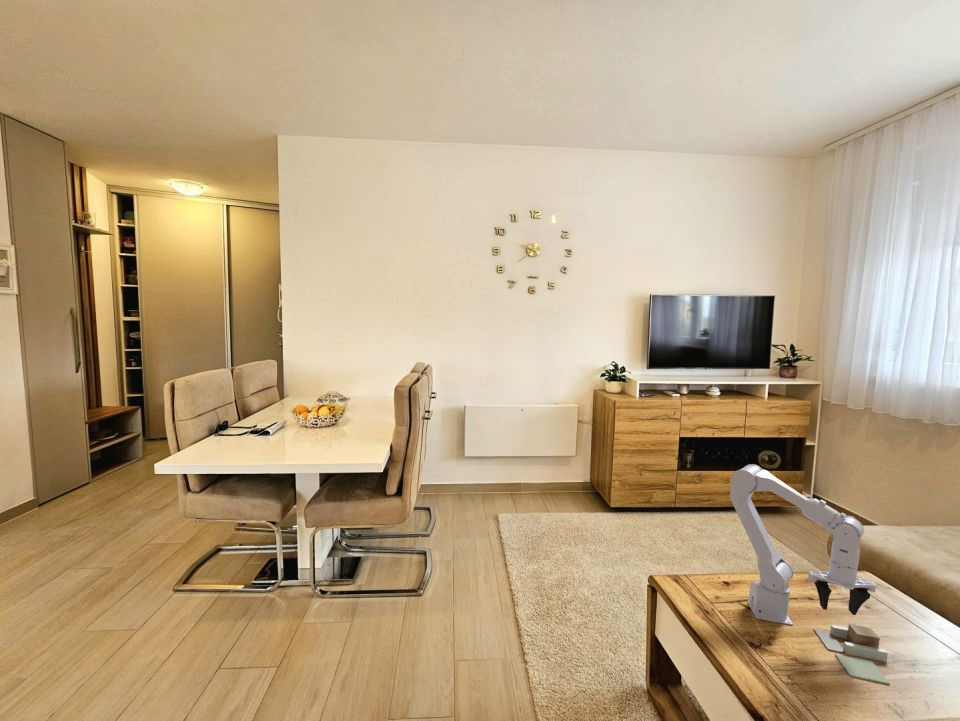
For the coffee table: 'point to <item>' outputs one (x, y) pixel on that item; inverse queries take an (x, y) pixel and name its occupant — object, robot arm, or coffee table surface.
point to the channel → (849, 644)
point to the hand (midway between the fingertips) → (837, 610)
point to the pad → (862, 669)
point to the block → (862, 636)
